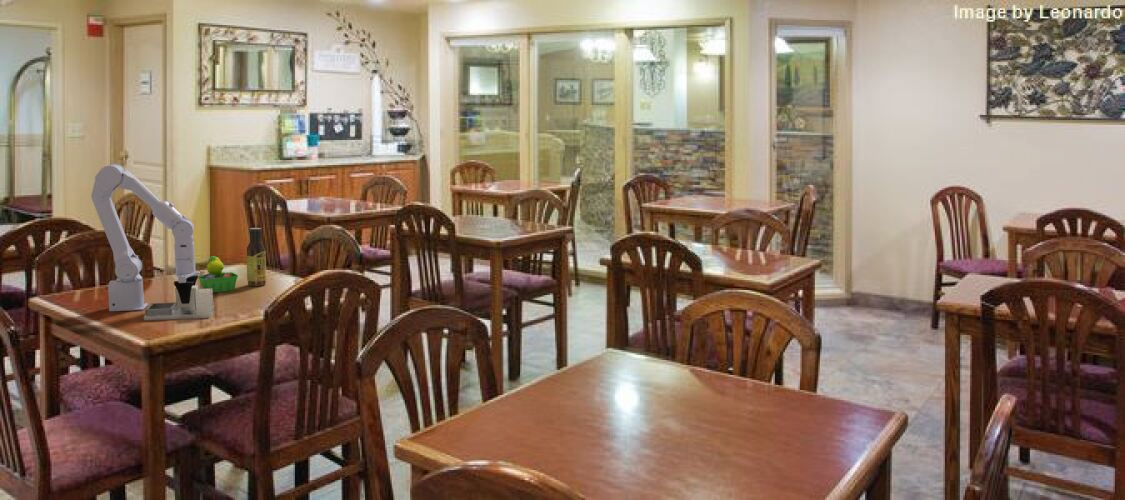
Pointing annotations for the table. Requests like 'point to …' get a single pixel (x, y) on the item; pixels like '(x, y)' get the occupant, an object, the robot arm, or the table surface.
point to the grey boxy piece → (172, 311)
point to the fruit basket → (217, 277)
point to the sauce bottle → (256, 259)
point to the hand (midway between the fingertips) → (187, 301)
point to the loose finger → (192, 298)
